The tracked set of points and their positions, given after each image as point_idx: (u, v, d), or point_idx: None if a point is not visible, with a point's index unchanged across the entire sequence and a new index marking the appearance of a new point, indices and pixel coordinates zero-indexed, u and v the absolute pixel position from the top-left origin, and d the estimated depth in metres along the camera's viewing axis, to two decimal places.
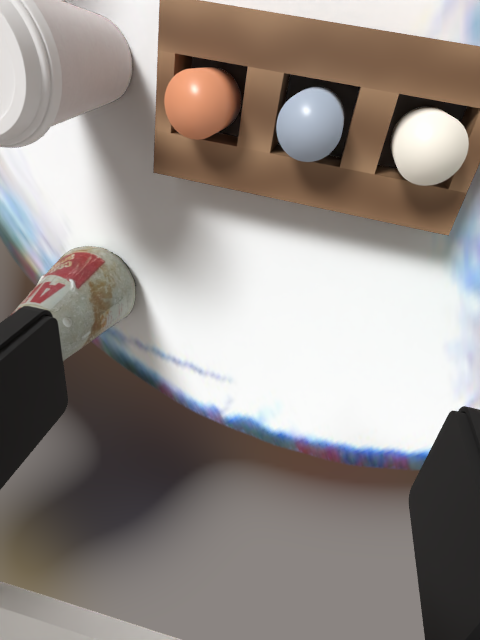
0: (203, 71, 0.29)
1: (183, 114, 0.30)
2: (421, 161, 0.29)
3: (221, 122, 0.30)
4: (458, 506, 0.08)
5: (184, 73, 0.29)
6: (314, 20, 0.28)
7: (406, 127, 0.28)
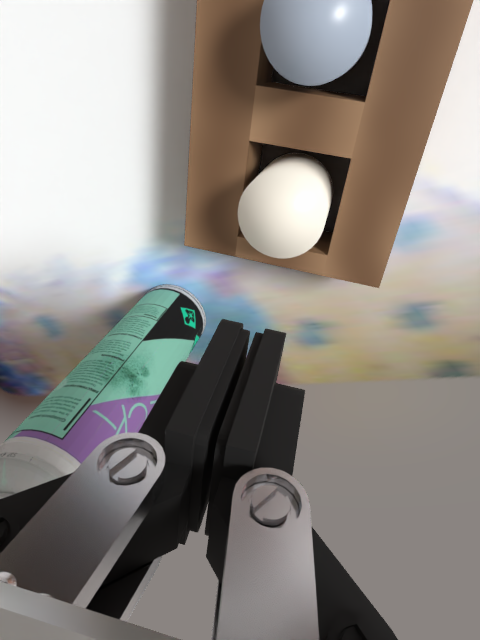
0: None
1: None
2: (267, 207, 0.22)
3: None
4: None
5: None
6: (468, 8, 0.18)
7: (309, 181, 0.21)
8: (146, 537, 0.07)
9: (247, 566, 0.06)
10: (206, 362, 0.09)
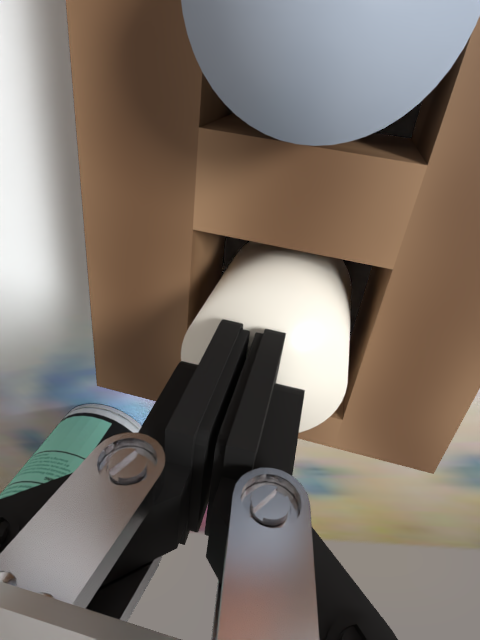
0: None
1: None
2: None
3: None
4: None
5: None
6: None
7: (317, 315, 0.10)
8: (146, 537, 0.07)
9: (247, 566, 0.06)
10: (206, 362, 0.09)
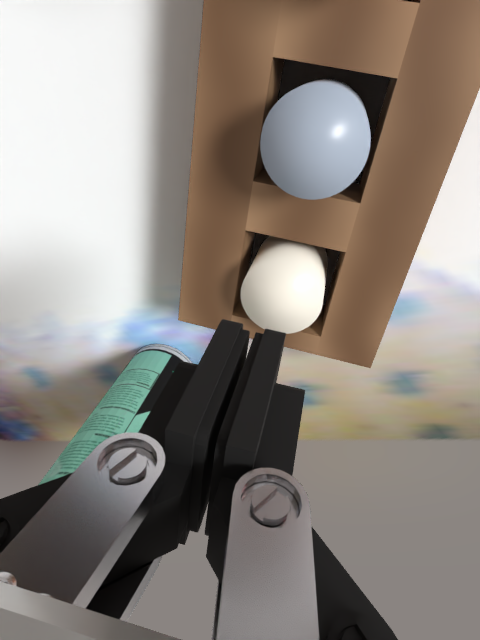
0: None
1: None
2: (268, 289, 0.23)
3: None
4: None
5: None
6: (462, 128, 0.19)
7: (309, 269, 0.22)
8: (146, 537, 0.07)
9: (247, 566, 0.06)
10: (206, 362, 0.09)
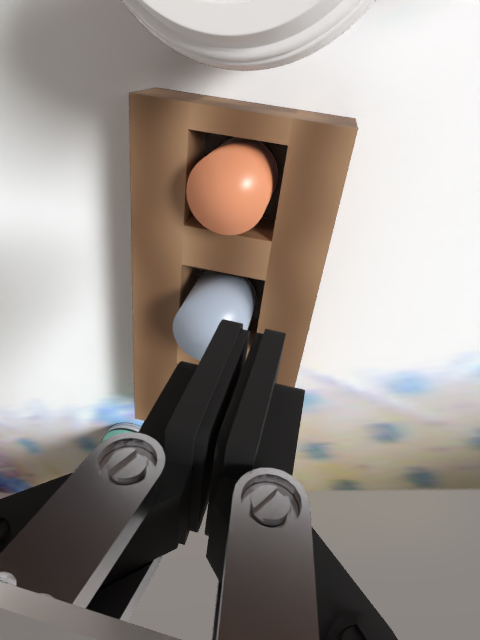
0: (264, 209, 0.23)
1: (214, 178, 0.23)
2: None
3: (209, 228, 0.24)
4: None
5: (261, 184, 0.23)
6: (312, 310, 0.28)
7: None
8: (146, 537, 0.07)
9: (247, 566, 0.06)
10: (206, 362, 0.09)
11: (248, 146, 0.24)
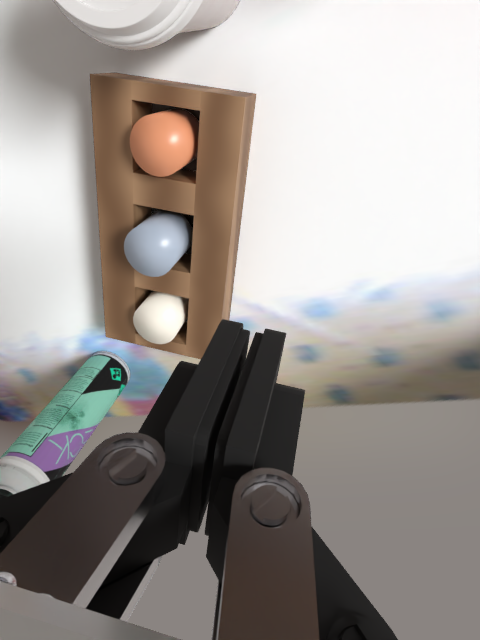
0: (183, 156, 0.33)
1: (148, 134, 0.32)
2: (147, 319, 0.41)
3: (147, 172, 0.34)
4: None
5: (180, 138, 0.32)
6: (229, 238, 0.37)
7: (166, 308, 0.40)
8: (146, 537, 0.07)
9: (247, 566, 0.06)
10: (206, 362, 0.09)
11: (175, 113, 0.34)
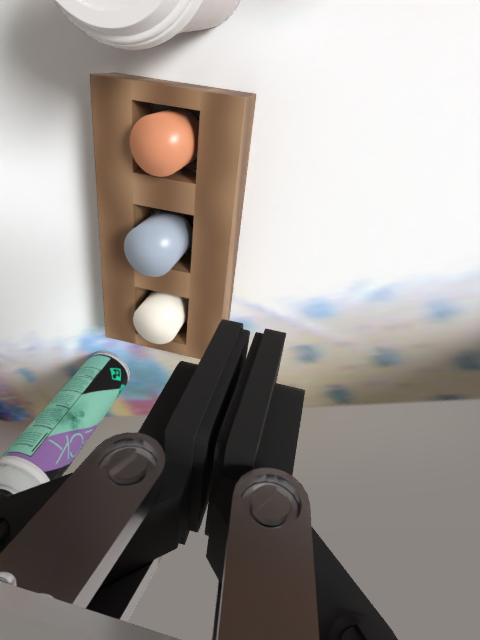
0: (183, 156, 0.33)
1: (148, 134, 0.32)
2: (147, 319, 0.41)
3: (147, 172, 0.34)
4: None
5: (180, 138, 0.32)
6: (229, 238, 0.37)
7: (166, 308, 0.40)
8: (146, 537, 0.07)
9: (247, 566, 0.06)
10: (206, 362, 0.09)
11: (175, 113, 0.34)
